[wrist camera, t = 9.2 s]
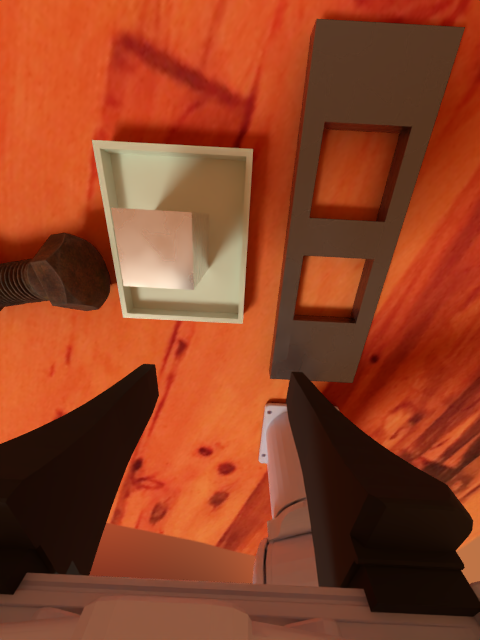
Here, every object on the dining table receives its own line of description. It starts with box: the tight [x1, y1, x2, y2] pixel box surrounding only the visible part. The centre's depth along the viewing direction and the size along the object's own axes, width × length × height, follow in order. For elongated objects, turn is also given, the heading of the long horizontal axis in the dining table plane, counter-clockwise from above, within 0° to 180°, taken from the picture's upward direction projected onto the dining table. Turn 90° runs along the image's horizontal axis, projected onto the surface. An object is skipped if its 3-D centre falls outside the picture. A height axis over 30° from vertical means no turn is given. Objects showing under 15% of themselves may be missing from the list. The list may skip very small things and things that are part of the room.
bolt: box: [0, 233, 110, 311], centre depth 18 cm, size 6×5×15 cm
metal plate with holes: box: [269, 19, 465, 383], centre depth 18 cm, size 24×8×1 cm, turn 177°
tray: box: [92, 140, 253, 324], centre depth 17 cm, size 12×10×2 cm
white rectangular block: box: [111, 208, 209, 290], centre depth 15 cm, size 4×4×6 cm
